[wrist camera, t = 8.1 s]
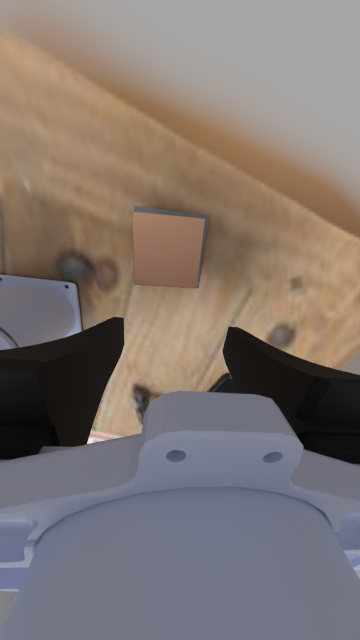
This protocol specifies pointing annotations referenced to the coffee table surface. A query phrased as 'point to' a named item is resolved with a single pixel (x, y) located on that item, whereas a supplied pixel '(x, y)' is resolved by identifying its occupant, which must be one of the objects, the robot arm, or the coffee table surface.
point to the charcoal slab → (183, 214)
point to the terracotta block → (167, 249)
